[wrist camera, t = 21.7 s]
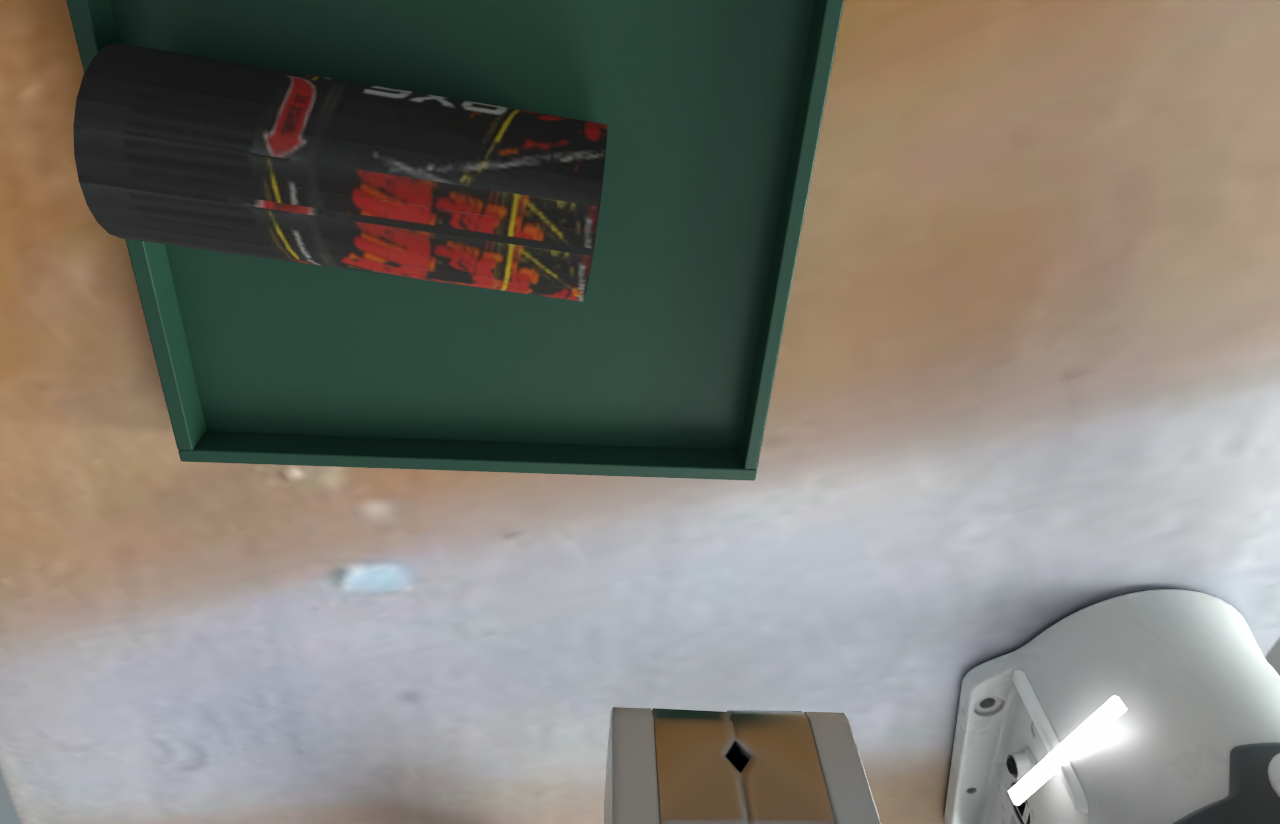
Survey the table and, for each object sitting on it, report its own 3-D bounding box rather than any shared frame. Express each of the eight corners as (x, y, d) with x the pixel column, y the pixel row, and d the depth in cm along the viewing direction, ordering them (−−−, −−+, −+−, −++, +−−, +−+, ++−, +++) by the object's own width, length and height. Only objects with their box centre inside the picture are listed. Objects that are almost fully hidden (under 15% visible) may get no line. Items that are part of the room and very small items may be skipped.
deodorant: (579, 300, 31) (163, 243, 29) (599, 140, 31) (173, 70, 28) (587, 303, 26) (69, 232, 23) (612, 106, 25) (77, 15, 23)
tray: (747, 455, 38) (755, 481, 36) (199, 435, 36) (180, 461, 34) (855, -153, 26) (874, -159, 24) (45, -238, 24) (3, -250, 22)
